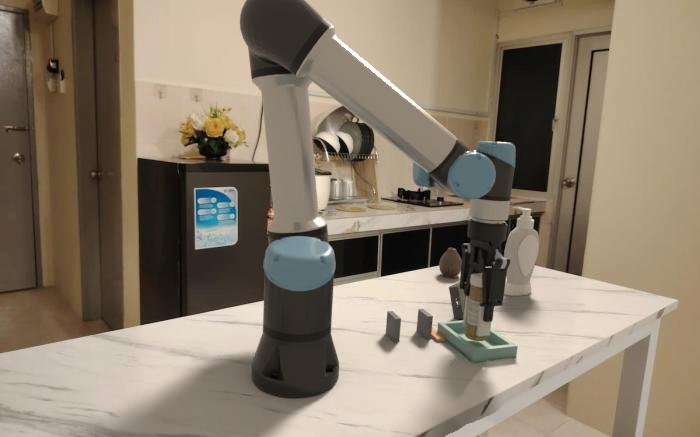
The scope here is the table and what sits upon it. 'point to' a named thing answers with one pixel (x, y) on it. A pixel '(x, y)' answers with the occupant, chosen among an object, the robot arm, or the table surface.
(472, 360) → the parts tray
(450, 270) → the vase
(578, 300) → the table surface
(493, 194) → the robot arm
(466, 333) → the sprinkles bottle
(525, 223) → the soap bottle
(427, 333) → the grey and orange blocks
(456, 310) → the electrical switch
